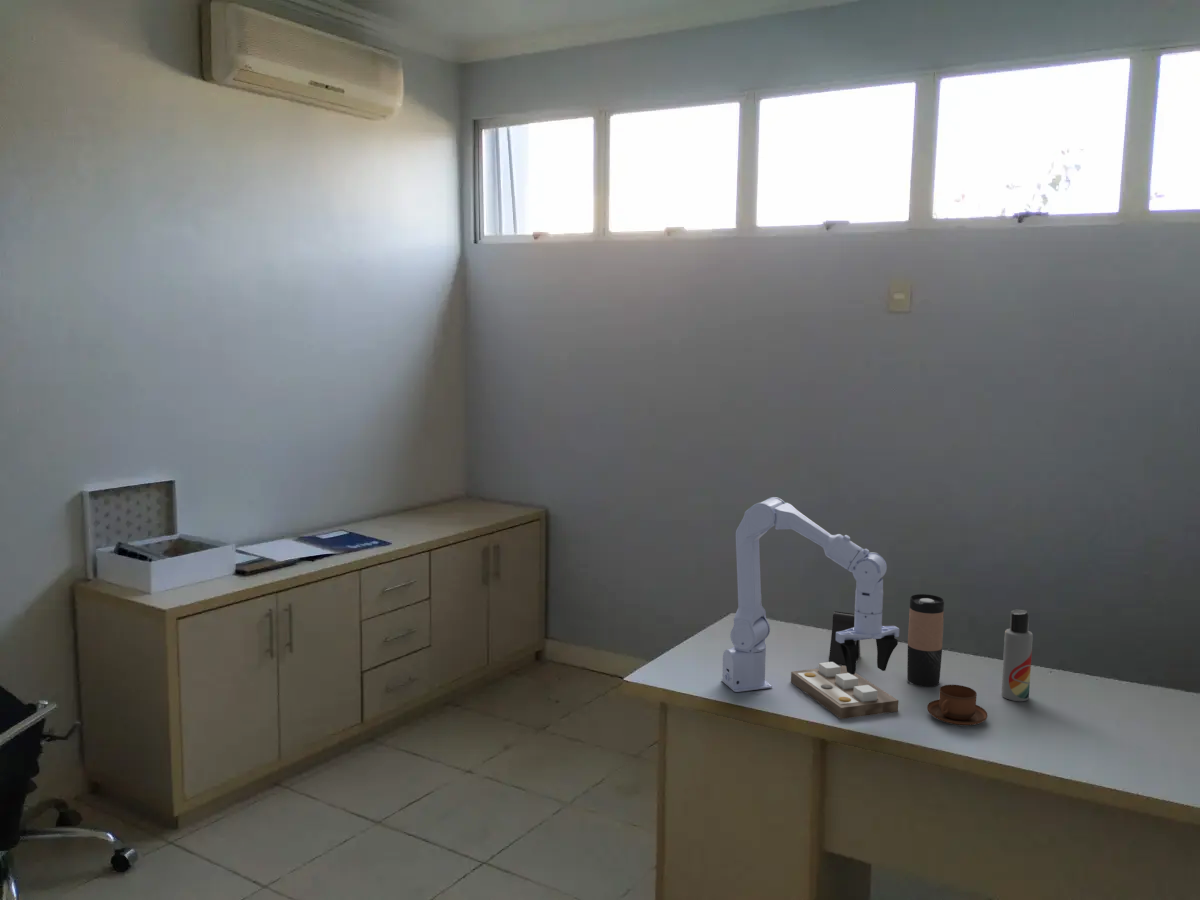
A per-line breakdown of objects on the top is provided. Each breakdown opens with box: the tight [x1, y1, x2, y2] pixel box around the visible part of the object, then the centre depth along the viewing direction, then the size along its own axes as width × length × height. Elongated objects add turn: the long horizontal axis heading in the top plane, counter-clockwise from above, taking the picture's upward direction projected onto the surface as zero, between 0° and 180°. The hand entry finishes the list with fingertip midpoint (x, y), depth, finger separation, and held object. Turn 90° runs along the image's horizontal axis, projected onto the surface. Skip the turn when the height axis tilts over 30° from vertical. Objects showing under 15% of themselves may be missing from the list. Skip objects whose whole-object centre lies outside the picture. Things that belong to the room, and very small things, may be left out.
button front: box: [853, 685, 877, 702], centre depth 204 cm, size 4×4×3 cm
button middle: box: [835, 673, 858, 689], centre depth 211 cm, size 4×4×3 cm
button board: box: [790, 665, 899, 720], centre depth 211 cm, size 14×22×3 cm, turn 17°
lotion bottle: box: [1001, 609, 1034, 702], centre depth 210 cm, size 6×6×20 cm
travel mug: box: [906, 593, 945, 688], centre depth 219 cm, size 8×8×20 cm
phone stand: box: [828, 610, 861, 666], centre depth 234 cm, size 9×6×12 cm, turn 153°
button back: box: [818, 661, 841, 677], centre depth 218 cm, size 4×4×3 cm
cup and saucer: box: [926, 684, 988, 727], centre depth 199 cm, size 12×12×6 cm
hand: (866, 671), depth 203 cm, fingers open, 7 cm apart
